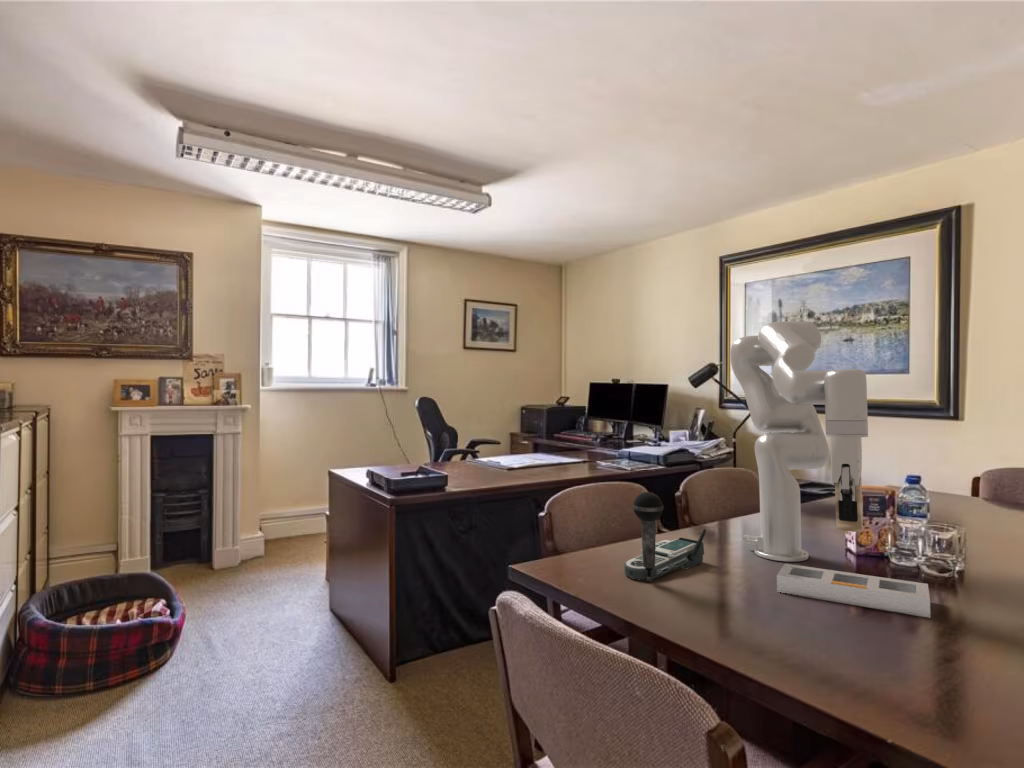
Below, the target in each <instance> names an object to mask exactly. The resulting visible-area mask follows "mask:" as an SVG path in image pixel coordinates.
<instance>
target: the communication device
mask: <svg viewBox="0 0 1024 768" xmlns="http://www.w3.org/2000/svg"><path fill="white" fill-rule="evenodd" d="M706 533H707V529H705V528H704V529H703V530H702V532H701V533H700V536H699V537H698V539H697V540H695V539H690V538H687V537H686V538H685V537H679V538H678V539H676V538H675V539H673V540H669V539H663V540H660V541H659V542H655V568H653V570H651V577H652V579H653V580H656V579H658V578H661V577H662V576H665V575H667V574H669V573H670V572H673V571H675V570H677V569H678V568H680V569H679V570H682V569H683V570H685V569H684V568H688V569H690V568H692V566H693V567H695V566H696V565H699V564H701V563H702V562H703V561H704V555H705V550H704V548H705V547H704V542H703V540H704V537H705V535H706ZM694 565H695V566H694ZM623 567H624V574H625V575H626V577H627V578H629V577H631V578H634V579H633V580H635V579H640V580H639V581H643V580H646V578H647V577H648V570H646V569H645V567H643V553H642V548H641V549H640V555H637V556H636V557H633V558H631V559H628V560H627V561H626V562H625V563H624V566H623ZM689 567H690V568H689ZM657 577H658V578H657ZM631 578H630V579H631ZM655 578H656V579H655Z"/></svg>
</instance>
